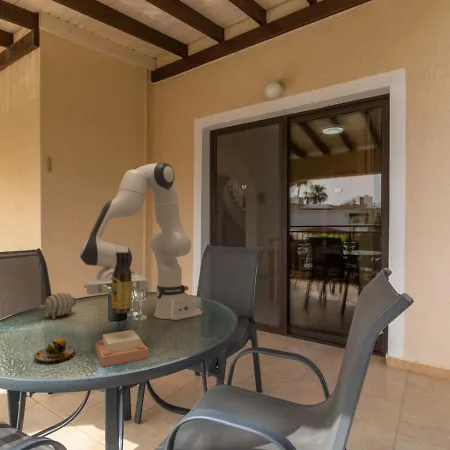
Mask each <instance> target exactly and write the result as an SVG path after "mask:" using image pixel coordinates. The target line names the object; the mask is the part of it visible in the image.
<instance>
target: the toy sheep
mask: <svg viewBox="0 0 450 450" xmlns="http://www.w3.org/2000/svg"><path fill="white" fill-rule="evenodd" d="M76 304H77V300H76V297H73V296H72V294H71V293H68V292H57V293H53V294H52V295H50V296H48V297H47V298H46V300H45V301H44V304H43V305H42V304H41V305H39V306H38V309H39V310H43V309H44V310H45V312H47V318H48V319H50V318H51V317H52V318H51V319H52V320H56V317H58V316H59V317H62V316H64V315H67V314H68V316H69V317H71V316H72V315H73V313H72V312H73V311H72V310H73V307H75V305H76Z"/></svg>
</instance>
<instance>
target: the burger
mask: <svg viewBox="0 0 450 450" xmlns="http://www.w3.org/2000/svg"><path fill="white" fill-rule="evenodd" d="M64 333H65V332H64ZM64 333H62V335H64ZM75 355H76V348H75V347H73V346H70V345H67V341H66V339H64V338H63V337H61V338H55V339H53V340H52V345H51V344H50V343H48V345H47V346H46V348H44V349H41V350H39V351H37V352H35V354H34V356H33V357H34V359H36V360H38V361H41V362H57V361H58V362H59V364H61V363H65V362H67V359H68V358H69V359H70V360H72V359H73V358H74V357H75Z"/></svg>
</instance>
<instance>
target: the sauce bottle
mask: <svg viewBox="0 0 450 450" xmlns="http://www.w3.org/2000/svg"><path fill="white" fill-rule="evenodd" d="M116 257H117V258H116V266H115V269H114V272H113V275H112V295H111V301H110V302H111V312H112V313H114V314H126V313H129V312H130V311H131V310H132V309H131V306H132V291H131V288H132V280H131V275H132V273H131V272H132V270H131V267H130V268H129V266H128V257H129V252H128V251H118V252H116Z"/></svg>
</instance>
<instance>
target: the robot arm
mask: <svg viewBox="0 0 450 450" xmlns="http://www.w3.org/2000/svg"><path fill="white" fill-rule="evenodd" d="M175 185H176V184H175V170H174V169H173V167H172V166H171V165H170V164H169V163H167V162H157V163H156V162H155V163H148V164H145V165H141V166H136V167H133V168H132V169H128V170H127V171H126V172H125V173H124V175H123V177H122V179H121V181H120V184H119V186H118V190H117V194H116V196H115V197H113V199H112V200H108V201H107V202H106V203H105V204H104V206H103V207H102V209H101V210H100V213H99V215H98V216H97V219H96V220H95V223H94V224H93V227H92V229H91V230H90V233H89V235H88V237H87V239H86V240H85V242H84V243H83V245H82V247H81V248H80V253H79V254H80V255H79V257H80V259H81V260H82V262H83V263H84V264H85V265H86V266H94V267H95V266H96V267H100V269H99V270H98V272H97V275H96V279H92V280H88V281H87V282H86V283H84V284H83V288H85V289H86V293H87V294H88V295H98V294H99V295H100V294H107V295H110V296H112V275H113V272H114V269H115V266H116V258H117V257H116V252H118V251H128V252H129V257H128V266H129V268H130V269H131V265H132V262H133V255H132V251H131V250H130V248H129V247H128V246H127V245H123V244H117V243H113V242H108V241H104V240H102V236H103V234H104V231H105V229H106V227H107V225H108V223H109V222H110V220H112V219H114V218H115V219H116V218H127V217H132V216H135V215H137V214H138V213H140V212H141V211H142V209H143V207H144V204H145V201H146V196H147V195H146V194H147V191H151V190H152V191H153V202H154V203H153V204H154V205H153V207H154V217H155V221H156V223H157V224H158V225H159V228H160V230H161V232H158V233H156V234H154V235H153V236H152V237H151V239H150V242H149V245H150V246H149V247H150V249H151V250H152V252H153V254H154V259H155V261H156V267H157V285H156V298H157V299H156V306H155V311H154V314H153V315H154V317H155V318H158V319H163V320H172V321H178V320H184V319H186V318H191V317H197V316H200V315H203V311H202V310H201V309H200V308H199V307H198V304H197V301H196V300H195V299H194V298H193V297H192V296H191V295H189V294H188V293H187V292H188V291H189V289H190V288H189V286H187V285H183V284H182V274H183V273H182V267H181V266H180V264H179V261H178V259H177V258H178V257H184V256H186V255H188V254H189V253H190V251H191V250H192V241H191V239H190V237H189V236H188V235H187V233H186V232H185V230H184V227H183V224H182V222H181V218H180V210H179V199H178V193H177V189H176V186H175ZM131 273H132V275H131V280H132V288H131V292H134V291H135V292H136V291H142V290H143V291H144V290H147V289H148V286H149V283H148V281H149V280H148V278H147V277H145V276H144V275H141V274H139V273H138V271H131ZM186 291H187V292H186Z"/></svg>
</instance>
